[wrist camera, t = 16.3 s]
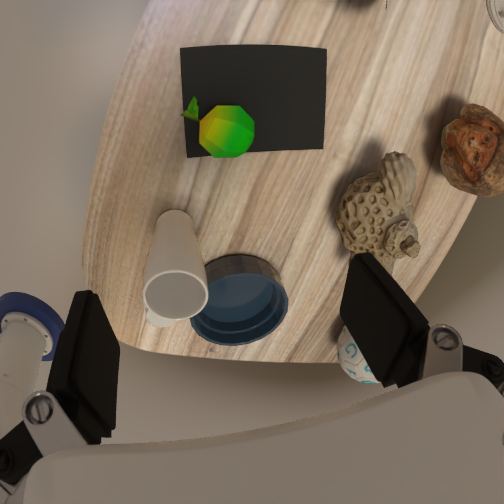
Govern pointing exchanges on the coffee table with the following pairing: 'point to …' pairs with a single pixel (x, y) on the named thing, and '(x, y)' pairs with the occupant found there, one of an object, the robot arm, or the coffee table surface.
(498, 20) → the chess piece
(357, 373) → the puzzle ball
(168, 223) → the drinking glass
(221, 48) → the mat
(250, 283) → the bowl
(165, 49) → the coffee table surface
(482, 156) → the sculpture
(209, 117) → the apple
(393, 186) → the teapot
